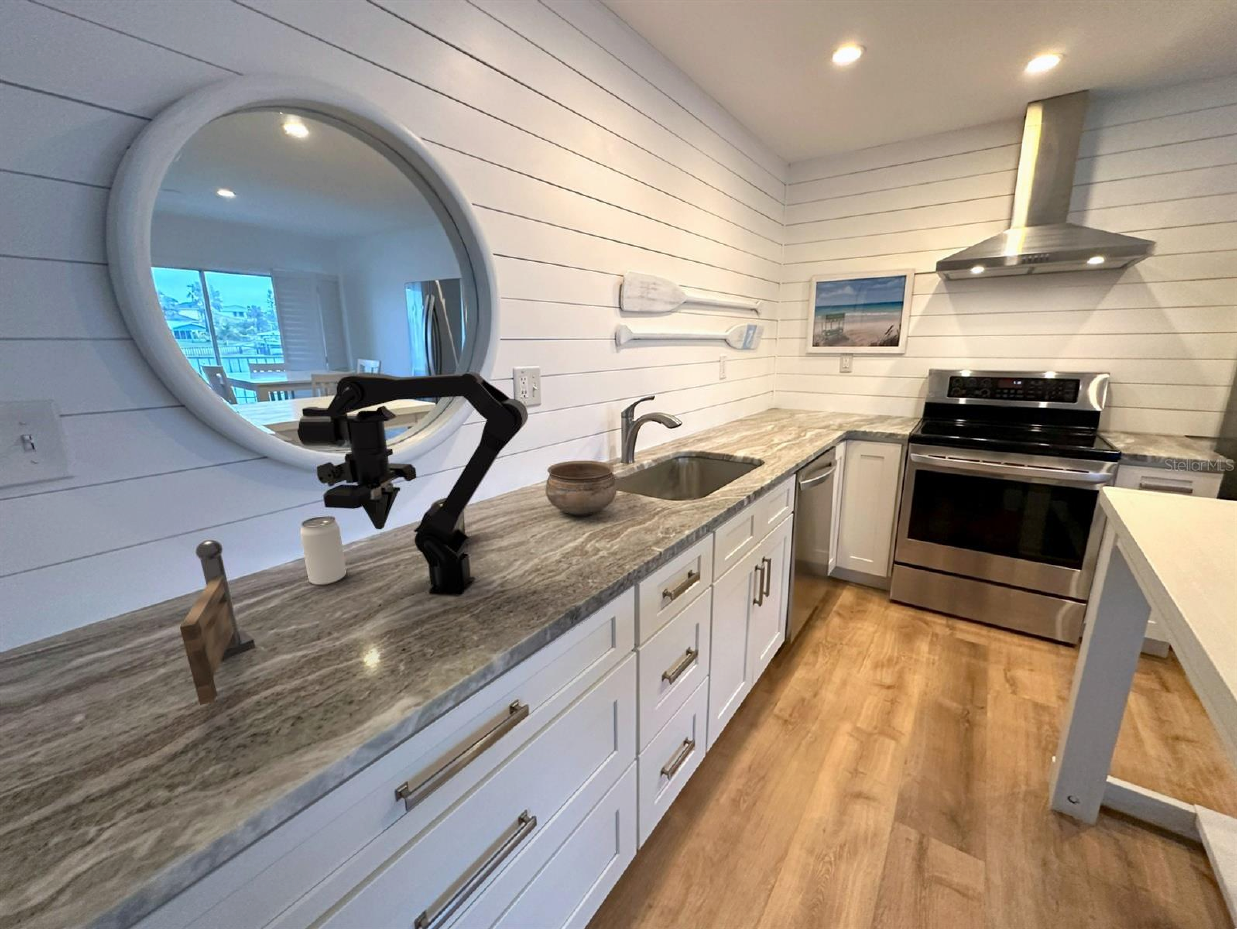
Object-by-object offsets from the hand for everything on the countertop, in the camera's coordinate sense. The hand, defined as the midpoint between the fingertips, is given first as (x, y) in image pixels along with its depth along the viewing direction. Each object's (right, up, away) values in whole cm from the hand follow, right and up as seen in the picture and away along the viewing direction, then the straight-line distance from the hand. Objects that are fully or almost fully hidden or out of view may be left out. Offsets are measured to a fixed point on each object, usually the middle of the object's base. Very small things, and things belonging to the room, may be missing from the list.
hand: (379, 528), depth 91 cm
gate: (-11, -16, -23) cm, 30 cm away
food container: (+5, -7, +22) cm, 24 cm away
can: (-14, -11, +7) cm, 19 cm away
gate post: (-15, -16, -15) cm, 27 cm away
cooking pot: (+34, -1, +42) cm, 54 cm away
